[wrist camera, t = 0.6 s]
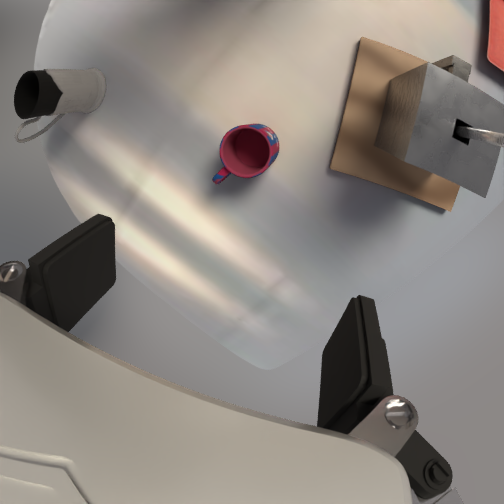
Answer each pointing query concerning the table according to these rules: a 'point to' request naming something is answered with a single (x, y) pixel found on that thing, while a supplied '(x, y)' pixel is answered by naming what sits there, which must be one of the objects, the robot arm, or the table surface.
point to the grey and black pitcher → (57, 94)
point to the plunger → (476, 134)
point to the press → (441, 123)
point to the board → (367, 124)
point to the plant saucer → (496, 34)
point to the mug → (247, 151)
